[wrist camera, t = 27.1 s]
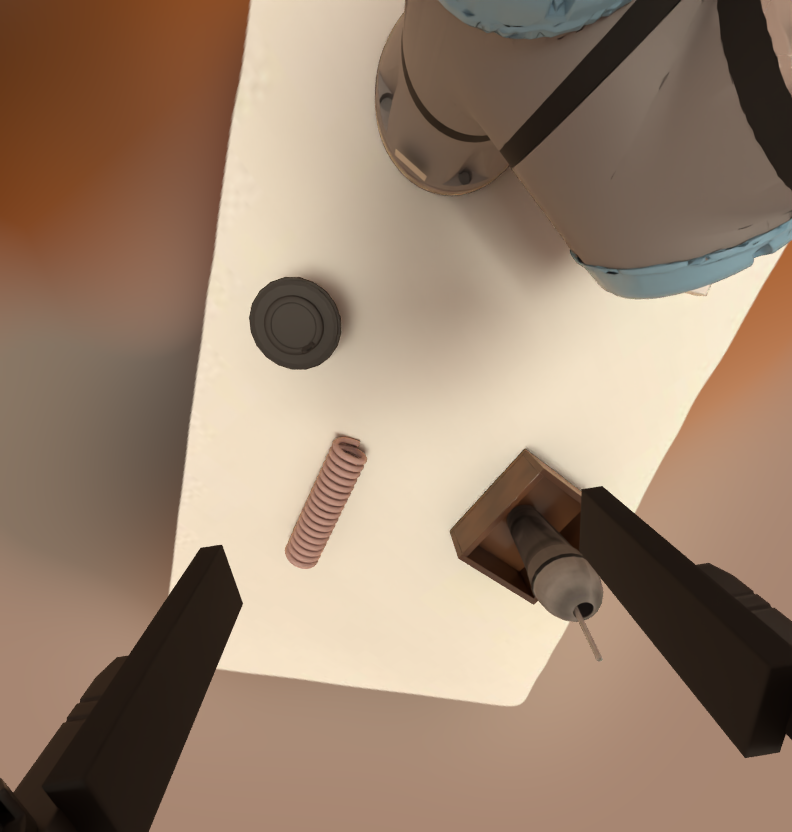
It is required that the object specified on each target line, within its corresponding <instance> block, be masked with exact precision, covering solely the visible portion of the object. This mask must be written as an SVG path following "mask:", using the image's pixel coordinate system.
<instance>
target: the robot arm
mask: <svg viewBox="0 0 792 832" xmlns="http://www.w3.org/2000/svg"><path fill="white" fill-rule="evenodd" d="M375 109H376V119H377V125H378V129H379V133H380V136H381V139H382V142H383V144H384V147H385V149H386V151H387V153H388V155H389V156H390V158H391V160H392V161H393V163H394V164H395V166H396V167H397V168H398V169H399V170H400V172H401V173H402V174H403V175H404V176H405V177H406V178H408V179H409V180H410V181H411V182H413V183H414V184H416V185H417V186H419V187H421V188H423V189H424V190H427V191H429V192H432V193H436V194H441V195H462V194H467V193H470V192H474V191H476V190H478V189H481V188H482V187H484V186H486V185H488V184H489V183H491V182H492V181H493V180H495V179H496V178H497V177H498V176H499V175H500V174H502V173H503V172H504V171H505V170H506V169H507V168H508V167H509V166H511V169H512V170H513V172H514V173H515V174H516V176H517V177H518V178H519V180H520V181H521V182H522V184H523V185H524V187H525V188H526V189H527V191H528V192H529V193H530V195H531V196H532V197H533V199H534V200H535V201H536V203H537V204H538V206H539V207H540V208H541V210H542V211H543V212H544V214H545V215H546V216H547V218H548V219H549V220H550V222H551V223H552V225H553V226H554V227H555V229H556V230H557V231H558V233H559V234H560V235H561V237H562V238H563V239H564V241H565V242H566V244H567V245H568V246H569V248H570V254H571V255H572V257H573V259H574V260H575V261H576V262H577V263H578V264H579V265H581V266H582V267H584V268H585V269H586V270H587V271H588V272H589V273H590V274H591V276H592V277H593V278H594V279H595V281H596V282H597V283H598V284H599V285H600V286H601V287H602V288H603V289H604V290H606V291H607V292H610V293H613V294H614V295H616V296H620V297H623V298H629V299H653V298H661V297H667V296H672V295H677V294H681V293H685V292H688V291H692V290H695V289H698V288H701V287H704V286H707V285H710V284H712V283H715V282H718V281H720V280H723V279H725V278H727V277H730V276H732V275H734V274H736V273H738V272H740V271H742V270H744V269H746V268H748V267H750V266H751V265H752V264H753V262H754V258H756V257H758V256H761V255H767V254H772V253H774V252H776V251H777V250H779V249H780V248H782V247H783V246H784V245H786V244H787V243H788V242H790V241H791V240H792V0H405V9H404V13H403V14H402V15H401V17H400V18H399V20H398V21H397V23H396V24H395V26H394V27H393V29H392V31H391V33H390V35H389V37H388V39H387V41H386V44H385V46H384V48H383V51H382V54H381V57H380V61H379V65H378V70H377V76H376V87H375ZM579 551H580V553H581V554H582V555H583V556H584V558H585V559H586V560H587V561H588V563H589V564H590V565H591V566H592V568H593V569H594V570H595V571H596V573H597V574H598V575H599V576H600V578H601V579H602V580H603V581H604V583H605V584H606V585H607V586H608V588H609V589H610V590H611V591H612V593H613V594H614V595H615V596H616V597H617V599H618V600H619V601H620V603H621V604H622V605H623V606H624V607H625V609H626V610H627V611H628V613H629V614H630V615H631V616H632V618H633V619H634V620H635V621H636V623H637V624H638V625H639V626H640V627H641V629H642V630H643V631H644V632H645V634H646V635H647V636H648V637H649V639H650V640H651V641H652V642H653V644H654V645H655V646H656V647H657V649H658V650H659V651H660V652H661V654H662V655H663V656H664V657H665V659H666V660H667V661H668V662H669V664H670V665H671V666H672V667H673V669H674V670H675V671H676V672H677V674H678V675H679V676H680V677H681V679H682V680H683V681H684V682H685V684H686V685H687V686H688V687H689V688H690V690H691V691H692V692H693V694H694V695H695V696H696V697H697V699H698V700H699V701H700V702H701V704H702V705H703V706H704V707H705V708H706V710H707V711H708V712H709V713H710V715H711V716H712V717H713V718H714V720H715V721H716V722H717V724H718V725H719V726H720V727H721V729H722V730H723V731H724V732H725V734H726V735H727V736H728V737H729V739H730V740H731V741H732V742H733V744H734V745H735V746H736V747H737V748H738V750H739V751H740V752H741V754H742V755H743V756H744V757H745V758H748V757H754V756H760V755H766V754H772V753H778V752H780V750H781V746H782V744H783V740H784V738H785V735H786V734H787V735H788V736H789V737H790V738H791V739H792V621H791V620H789V619H788V618H787V617H786V616H784V615H783V614H782V613H781V612H779V611H778V610H777V609H775V608H772V607H771V606H770V604H769V603H768V602H766V601H765V600H764V599H763V598H761V597H760V596H759V595H757V594H754V593H753V591H752V590H751V589H750V588H749V587H747V586H746V585H745V584H743V583H742V582H741V581H740V580H738V579H737V578H736V577H735V576H733V575H731V574H730V573H728V572H725V571H724V570H721V569H719V568H718V567H716V566H714V565H712V564H710V563H706V564H700V565H695V564H694V563H693V562H692V561H690V560H689V559H688V558H687V557H686V556H684V555H683V554H682V553H681V552H680V551H679V550H677V549H676V548H675V547H674V546H673V545H671V544H670V543H669V542H668V541H667V540H665V539H664V538H663V537H662V536H661V535H659V534H658V533H657V532H656V531H655V530H654V529H652V528H651V527H650V526H649V525H648V524H646V523H645V522H644V521H643V520H642V519H641V518H639V517H638V516H637V515H636V514H635V513H633V512H632V511H631V510H630V509H629V508H627V507H626V506H625V505H624V504H623V503H622V502H620V501H619V500H618V499H617V498H616V497H614V496H613V495H612V494H611V493H610V492H608V491H607V490H606V489H605V488H604V487H603V486H601V487H594V488H588V489H582V493H581V519H580V545H579ZM242 605H243V602H242V600H241V597H240V594H239V591H238V588H237V586H236V583H235V580H234V577H233V574H232V571H231V569H230V566H229V563H228V560H227V557H226V555H225V552H224V549H223V546H222V545H216V546H210V547H203V548H200V550H199V551H198V553H197V554H196V556H195V557H194V559H193V560H192V562H191V563H190V565H189V566H188V568H187V569H186V571H185V572H184V574H183V575H182V577H181V578H180V579H179V581H178V582H177V584H176V585H175V587H174V588H173V590H172V591H171V593H170V594H169V596H168V598H167V599H166V600H165V602H164V603H163V605H162V606H161V608H160V609H159V611H158V612H157V614H156V615H155V617H154V618H153V620H152V621H151V623H150V624H149V626H148V627H147V629H146V631H145V632H144V633H143V635H142V636H141V638H140V639H139V641H138V642H137V644H136V645H135V647H134V648H133V650H132V651H131V653H130V654H129V656H123V657H117V658H116V659H115V660H114V661H113V662H112V663H110V664H109V665H108V666H107V667H106V668H105V669H104V670H103V671H102V672H101V673H100V674H99V675H98V676H97V677H96V678H95V679H94V681H93V682H92V683H91V685H90V686H89V688H88V689H87V691H86V692H85V693H84V695H83V696H82V697H81V699H80V703H79V704H77V705H76V706H75V707H74V709H73V710H72V711H71V713H70V714H69V716H68V717H67V721H66V722H65V723H63V724H62V725H61V727H60V728H59V730H58V731H57V732H56V734H55V735H54V737H53V738H52V739H51V741H50V742H49V744H48V745H47V746H46V748H45V749H44V751H43V752H42V753H41V755H40V756H39V758H38V759H37V760H36V762H35V763H34V764H33V766H32V767H31V769H30V770H29V772H28V773H27V774H26V776H25V777H24V778H23V780H22V781H21V783H20V784H19V786H18V787H17V788H16V790H15V791H14V792H12V791H11V790H10V788H9V787H8V786H7V785H6V783H5V782H4V781H3V780H2V779H1V778H0V832H149V829H150V827H151V825H152V822H153V820H154V817H155V815H156V813H157V810H158V808H159V805H160V803H161V800H162V798H163V795H164V793H165V791H166V788H167V786H168V783H169V781H170V779H171V776H172V774H173V771H174V769H175V767H176V764H177V761H178V759H179V757H180V754H181V752H182V750H183V747H184V745H185V742H186V740H187V738H188V735H189V733H190V730H191V728H192V725H193V723H194V721H195V718H196V716H197V713H198V711H199V708H200V706H201V704H202V701H203V699H204V697H205V694H206V691H207V689H208V687H209V684H210V682H211V680H212V677H213V675H214V672H215V670H216V668H217V665H218V663H219V660H220V658H221V655H222V653H223V651H224V648H225V646H226V643H227V641H228V639H229V636H230V634H231V631H232V629H233V626H234V624H235V622H236V619H237V617H238V614H239V612H240V610H241V607H242Z"/></svg>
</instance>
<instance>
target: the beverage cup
mask: <svg viewBox="0 0 792 832" xmlns="http://www.w3.org/2000/svg"><path fill="white" fill-rule="evenodd" d="M507 525H508V527H509V530H510V533H511V535H512V538H513V540H514V542H515V545H516V547H517V549H518V552H519V554H520V556H521V559H522V561H523V563H524V566H525V568H526V570H527V573H528V577H529V581H530V584H531V589H532V592H533V595H534V596H535V597H536V598H537V599H538V601H539V602H540V603H541V604H542V605H543V606H544V607H545V609H546V610H547V611H548V612H550V613H551V614H552V615H554V616H556V617H558V618H560V619H562V620H565V621H572V622H579V624H580V626H581V628H582V630H583V632H584V634H585V636H586V639H587V640H588V642H589V645H590V647H591V649H592V651H593V653H594V655H595V658H596V660H597V661H602V657H601V654H600V653H599V650H598V649H597V646H596V644H595V642H594V640H593V638H592V636H591V634H590V632H589V630H588V628H587V626H586V624H585V622H584V620H587V619H589V618H590V617H592V616H593V615H594V614H595V613H596V612H597V611H598V609H599V607H600V605H601V604H602V597H603V587H602V584H601V580H600V577H599V575H598V574H597V573H596V571H595V570H594V569H593V568H592V566H591V565H590V564H589V563H588V561H587V560H586V559H585V558H584V556H583V555H582V554H581V553H580V552H579V551H578V550H577V549H575V548H573V547H572V546H571V545H570V544H569V543H568V542H567V540H566V539H565V538H564V537H563V536H562V535H561V534H560V533H559V532H558V531H557V530H556V529H555V528H554V527H553V526H552V525H551V524H550V523H549V522H548V521H547V520H546V519H545V518H544V517H543V516H542V514H541V513H539V512H538V511H537V510H536V509H535V508H534V507H532V506H530V505H520V506H517V507H515V508H514V509H513V510H511V512H510V513H509V514H508V517H507Z"/></svg>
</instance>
